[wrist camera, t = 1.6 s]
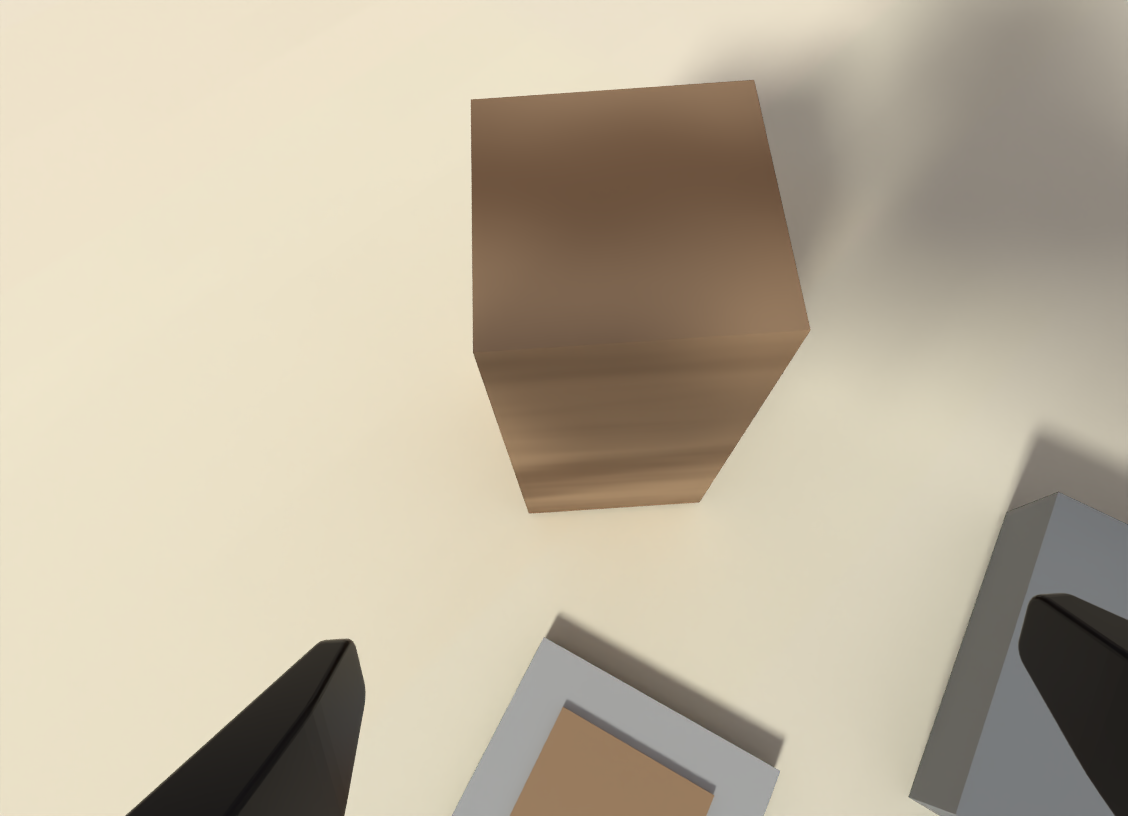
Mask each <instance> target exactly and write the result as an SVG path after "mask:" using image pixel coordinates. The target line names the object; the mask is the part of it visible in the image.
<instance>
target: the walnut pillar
mask: <svg viewBox="0 0 1128 816" xmlns="http://www.w3.org/2000/svg"><path fill="white" fill-rule="evenodd" d="M471 163H472V279H473V354H474V357H475V359H476V362H477V365H478V368H479V371H480V374H481V377H482V380H483V382H484V385H485V388H486V391H487V394H488V397H489V400H490V403H491V406H492V408H493V411H494V414H495V417H496V420H497V423H498V426H499V429H500V431H501V434H502V437H503V440H504V443H505V446H506V449H507V452H508V454H509V457H510V460H511V463H512V466H513V469H514V472H515V475H516V478H517V480H518V483H519V486H520V489H521V492H522V495H523V498H524V501H525V503H526V506H527V509H528V512H529V513H543V512H558V511H573V510H589V509H604V508H619V507H634V506H650V505H665V504H680V503H695V502H700V500H701V499H702V497H703V496H704V494H705V493H706V491H707V490H708V488H709V487H710V485H711V483H712V482H713V480H714V479H715V477H716V476H717V474H718V473H719V471H720V469H721V468H722V466H723V465H724V463H725V462H726V460H727V459H728V457H729V456H730V454H731V452H732V451H733V449H734V448H735V446H736V445H737V443H738V442H739V440H740V438H741V437H742V435H743V434H744V432H745V431H746V429H747V428H748V426H749V425H750V423H751V421H752V420H753V418H754V417H755V415H756V414H757V412H758V411H759V409H760V407H761V406H762V404H763V403H764V401H765V400H766V398H767V397H768V395H769V394H770V392H771V390H772V389H773V387H774V386H775V384H776V383H777V381H778V380H779V378H780V376H781V375H782V373H783V372H784V370H785V369H786V367H787V366H788V364H789V363H790V361H791V359H792V358H793V356H794V355H795V353H796V352H797V350H798V349H799V347H800V345H801V344H802V342H803V341H804V339H805V338H806V336H807V335H808V333H809V332H810V326H809V321H808V317H807V313H806V308H805V304H804V299H803V295H802V290H801V286H800V282H799V277H798V273H797V268H796V264H795V259H794V255H793V250H792V246H791V242H790V237H789V233H788V228H787V224H786V219H785V215H784V211H783V206H782V202H781V197H780V193H779V188H778V184H777V179H776V175H775V171H774V166H773V162H772V157H771V153H770V148H769V144H768V140H767V135H766V131H765V126H764V122H763V117H762V113H761V109H760V104H759V100H758V95H757V91H756V86H755V82H754V80H747V81H733V82H718V83H704V84H689V85H675V86H661V87H646V88H632V89H617V90H603V91H589V92H574V93H560V94H545V95H531V96H517V97H502V98H488V99H473V100H471Z"/></svg>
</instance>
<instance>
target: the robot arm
mask: <svg viewBox="0 0 1128 816" xmlns="http://www.w3.org/2000/svg"><path fill="white" fill-rule="evenodd" d="M1018 650H1019V655H1020V658H1021V661H1022V663H1023V665H1024V667H1025V668H1026V670H1027V672H1028V674H1029V675H1030V677H1031V679H1032V681H1033V682H1034V684H1035V686H1036V688H1037V690H1038V691H1039V693H1040V695H1041V697H1042V698H1043V700H1044V702H1045V704H1046V705H1047V707H1048V709H1049V711H1050V712H1051V714H1052V716H1053V718H1054V719H1055V721H1056V723H1057V725H1058V726H1059V728H1060V730H1061V732H1062V733H1063V735H1064V737H1065V739H1066V740H1067V742H1068V744H1069V746H1070V748H1071V749H1072V751H1073V753H1074V755H1075V756H1076V758H1077V760H1078V761H1079V763H1080V764H1081V766H1082V768H1083V769H1084V771H1085V773H1086V774H1087V776H1088V777H1089V779H1090V780H1091V782H1092V783H1093V785H1094V787H1095V788H1096V790H1097V791H1098V793H1099V794H1100V796H1101V797H1102V798H1103V800H1104V801H1105V803H1106V804H1107V806H1108V807H1109V809H1110V810H1111V811H1112V813H1113V814H1114V816H1128V620H1127V619H1125V618H1123V617H1120V616H1118V615H1116V614H1114V613H1111V612H1109V611H1107V610H1105V609H1103V608H1100V607H1098V606H1096V605H1094V604H1091V603H1089V602H1087V601H1085V600H1083V599H1080V598H1078V597H1076V596H1074V595H1071V594H1067V593H1052V594H1039V595H1035V596H1033V597H1032V598H1031V599H1030V601H1029V603H1028V606H1027V609H1026V613H1025V617H1024V621H1023V625H1022V629H1021V633H1020V637H1019V641H1018ZM364 705H365V684H364V679H363V675H362V671H361V667H360V662H359V658H358V654H357V650H356V646H355V644H354V642H353V641H352V640H350V639H333V640H324V641H321V642H319V643H318V644H316V645H315V646H314V647H313V648H312V649H311V650H309V651H308V652H307V653H306V654H305V655H304V656H303V657H302V658H301V659H299V660H298V661H297V662H296V663H295V664H294V665H293V666H292V667H291V668H289V669H288V670H287V671H286V672H285V673H284V674H283V675H282V676H281V677H279V678H278V679H277V680H276V681H275V682H274V683H273V684H272V685H271V686H269V687H268V688H267V689H266V690H265V691H264V692H263V693H262V694H260V695H259V696H258V697H257V698H256V699H255V700H254V701H253V702H252V703H250V704H249V705H248V706H247V707H246V708H245V709H244V710H243V711H242V712H240V713H239V714H238V715H237V716H236V717H235V718H234V719H233V720H232V721H230V722H229V723H228V724H227V725H226V726H225V727H224V728H223V729H221V730H220V731H219V732H218V733H217V734H216V735H215V736H214V737H213V738H211V739H210V740H209V741H208V742H207V743H206V744H205V745H204V746H203V747H201V748H200V749H199V750H198V751H197V752H196V753H195V754H194V755H193V756H191V757H190V758H189V759H188V760H187V761H186V762H185V763H184V764H182V765H181V766H180V767H179V768H178V769H177V770H176V771H175V772H174V773H172V774H171V775H170V776H169V777H168V778H167V779H166V780H165V781H164V782H162V783H161V784H160V785H159V786H158V787H157V788H156V789H155V790H154V791H152V792H151V793H150V794H149V795H148V796H147V797H146V798H145V799H143V800H142V801H141V802H140V803H139V804H138V805H137V806H136V807H135V808H133V809H132V810H131V811H130V812H129V813H128V814H127V815H126V816H344V814H345V810H346V805H347V799H348V794H349V788H350V783H351V777H352V772H353V766H354V761H355V755H356V749H357V744H358V738H359V733H360V727H361V722H362V716H363V711H364Z"/></svg>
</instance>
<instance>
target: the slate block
mask: <svg viewBox="0 0 1128 816" xmlns="http://www.w3.org/2000/svg"><path fill="white" fill-rule="evenodd" d="M1052 593H1067V594H1071V595H1074V596H1076V597H1078V598H1080V599H1083V600H1085V601H1087V602H1089V603H1091V604H1094V605H1096V606H1098V607H1100V608H1103V609H1105V610H1107V611H1109V612H1111V613H1114V614H1116V615H1118V616H1120V617H1123V618H1125V619H1127V620H1128V524H1126V523H1124V522H1121V521H1119V520H1117V519H1115V518H1113V517H1111V516H1109V515H1107V514H1104V513H1102V512H1100V511H1098V510H1096V509H1094V508H1092V507H1090V506H1087V505H1085V504H1083V503H1081V502H1079V501H1077V500H1075V499H1073V498H1070V497H1068V496H1066V495H1064V494H1062V493H1060V492H1057V493H1054V494H1052V495H1049V496H1047V497H1044V498H1042V499H1039V500H1037V501H1034V502H1032V503H1029V504H1027V505H1024V506H1022V507H1019V508H1017V509H1014V510H1011V511H1009V512H1007V513H1006V516H1005V519H1004V522H1003V524H1002V527H1001V530H1000V533H999V536H998V539H997V542H996V545H995V548H994V551H993V553H992V556H991V559H990V562H989V565H988V568H987V571H986V574H985V577H984V580H983V583H982V585H981V588H980V591H979V594H978V597H977V600H976V603H975V606H974V609H973V612H972V614H971V617H970V620H969V623H968V626H967V629H966V632H965V635H964V638H963V641H962V643H961V646H960V649H959V652H958V655H957V658H956V661H955V664H954V667H953V670H952V672H951V675H950V678H949V681H948V684H947V687H946V690H945V693H944V696H943V699H942V701H941V704H940V707H939V710H938V713H937V716H936V719H935V722H934V725H933V728H932V731H931V733H930V736H929V739H928V742H927V745H926V748H925V751H924V754H923V757H922V760H921V762H920V765H919V768H918V771H917V774H916V777H915V780H914V783H913V786H912V789H911V791H910V794H909V798H911V799H913V800H914V801H916V802H918V803H919V804H921V805H923V806H924V807H926V808H928V809H929V810H931V811H933V812H934V813H936V814H938V815H940V816H1114V814H1113V813H1112V811H1111V810H1110V809H1109V807H1108V806H1107V804H1106V803H1105V801H1104V800H1103V798H1102V797H1101V796H1100V794H1099V793H1098V791H1097V790H1096V788H1095V787H1094V785H1093V783H1092V782H1091V780H1090V779H1089V777H1088V776H1087V774H1086V773H1085V771H1084V769H1083V768H1082V766H1081V764H1080V763H1079V761H1078V760H1077V758H1076V756H1075V755H1074V753H1073V751H1072V749H1071V748H1070V746H1069V744H1068V742H1067V740H1066V739H1065V737H1064V735H1063V733H1062V732H1061V730H1060V728H1059V726H1058V725H1057V723H1056V721H1055V719H1054V718H1053V716H1052V714H1051V712H1050V711H1049V709H1048V707H1047V705H1046V704H1045V702H1044V700H1043V698H1042V697H1041V695H1040V693H1039V691H1038V690H1037V688H1036V686H1035V684H1034V682H1033V681H1032V679H1031V677H1030V675H1029V674H1028V672H1027V670H1026V668H1025V667H1024V665H1023V663H1022V661H1021V658H1020V655H1019V650H1018V641H1019V637H1020V633H1021V629H1022V625H1023V621H1024V617H1025V613H1026V609H1027V606H1028V603H1029V601H1030V599H1031V598H1032V597H1033V596H1035V595H1039V594H1052Z"/></svg>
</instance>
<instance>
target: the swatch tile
mask: <svg viewBox="0 0 1128 816" xmlns="http://www.w3.org/2000/svg"><path fill="white" fill-rule="evenodd" d="M779 773H780V771H779V770H778V769H776V768H774V767H772V766H771V765H769V764H767V763H765V762H764V761H762V760H760V759H758V758H756V757H755V756H753V755H751V754H749V753H748V752H746V751H744V750H742V749H741V748H739V747H737V746H735V745H734V744H732V743H730V742H728V741H726V740H725V739H723V738H721V737H719V736H718V735H716V734H714V733H712V732H711V731H709V730H707V729H705V728H704V727H702V726H700V725H698V724H696V723H695V722H693V721H691V720H689V719H688V718H686V717H684V716H682V715H681V714H679V713H677V712H675V711H674V710H672V709H670V708H668V707H666V706H665V705H663V704H661V703H659V702H658V701H656V700H654V699H652V698H651V697H649V696H647V695H645V694H644V693H642V692H640V691H638V690H636V689H635V688H633V687H631V686H629V685H628V684H626V683H624V682H622V681H621V680H619V679H617V678H615V677H614V676H612V675H610V674H608V673H606V672H605V671H603V670H601V669H599V668H598V667H596V666H594V665H592V664H591V663H589V662H587V661H585V660H584V659H582V658H580V657H578V656H576V655H575V654H573V653H571V652H569V651H568V650H566V649H564V648H562V647H561V646H559V645H557V644H555V643H554V642H552V641H550V640H548V639H546V638H545V637H544V638H543V640H542V642H541V644H540V646H539V648H538V650H537V652H536V653H535V655H534V657H533V659H532V661H531V663H530V665H529V667H528V669H527V671H526V673H525V675H524V677H523V679H522V681H521V683H520V684H519V686H518V688H517V690H516V692H515V694H514V696H513V698H512V700H511V702H510V704H509V706H508V708H507V710H506V712H505V714H504V716H503V717H502V719H501V721H500V723H499V725H498V727H497V729H496V731H495V733H494V735H493V737H492V739H491V741H490V743H489V745H488V747H487V749H486V750H485V752H484V754H483V756H482V758H481V760H480V762H479V764H478V766H477V768H476V770H475V772H474V774H473V776H472V778H471V780H470V781H469V783H468V785H467V787H466V789H465V791H464V793H463V795H462V797H461V799H460V801H459V803H458V805H457V807H456V809H455V811H454V813H453V814H452V816H764V814H765V811H766V808H767V806H768V803H769V800H770V798H771V795H772V792H773V789H774V787H775V784H776V781H777V779H778V776H779Z"/></svg>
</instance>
